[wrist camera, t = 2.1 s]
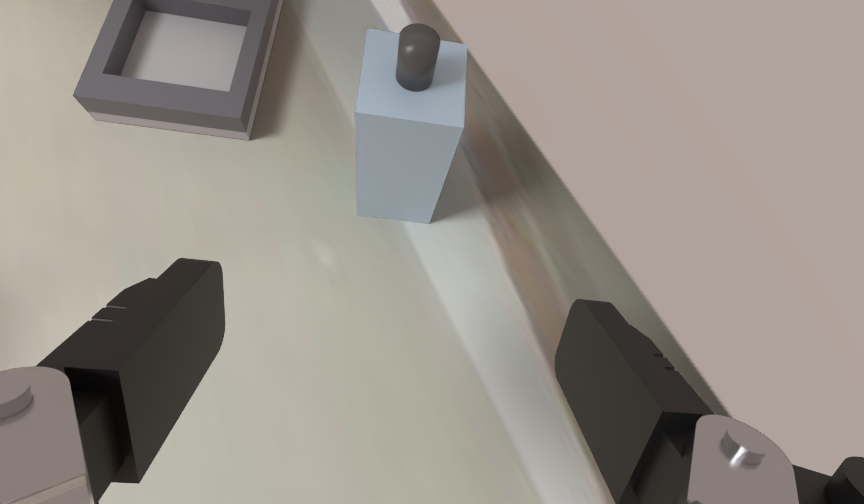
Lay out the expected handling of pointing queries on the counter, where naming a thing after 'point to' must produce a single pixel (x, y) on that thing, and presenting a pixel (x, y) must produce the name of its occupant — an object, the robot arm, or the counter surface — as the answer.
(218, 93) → the grey rimmed tray
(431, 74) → the plug
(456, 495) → the counter surface
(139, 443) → the robot arm
